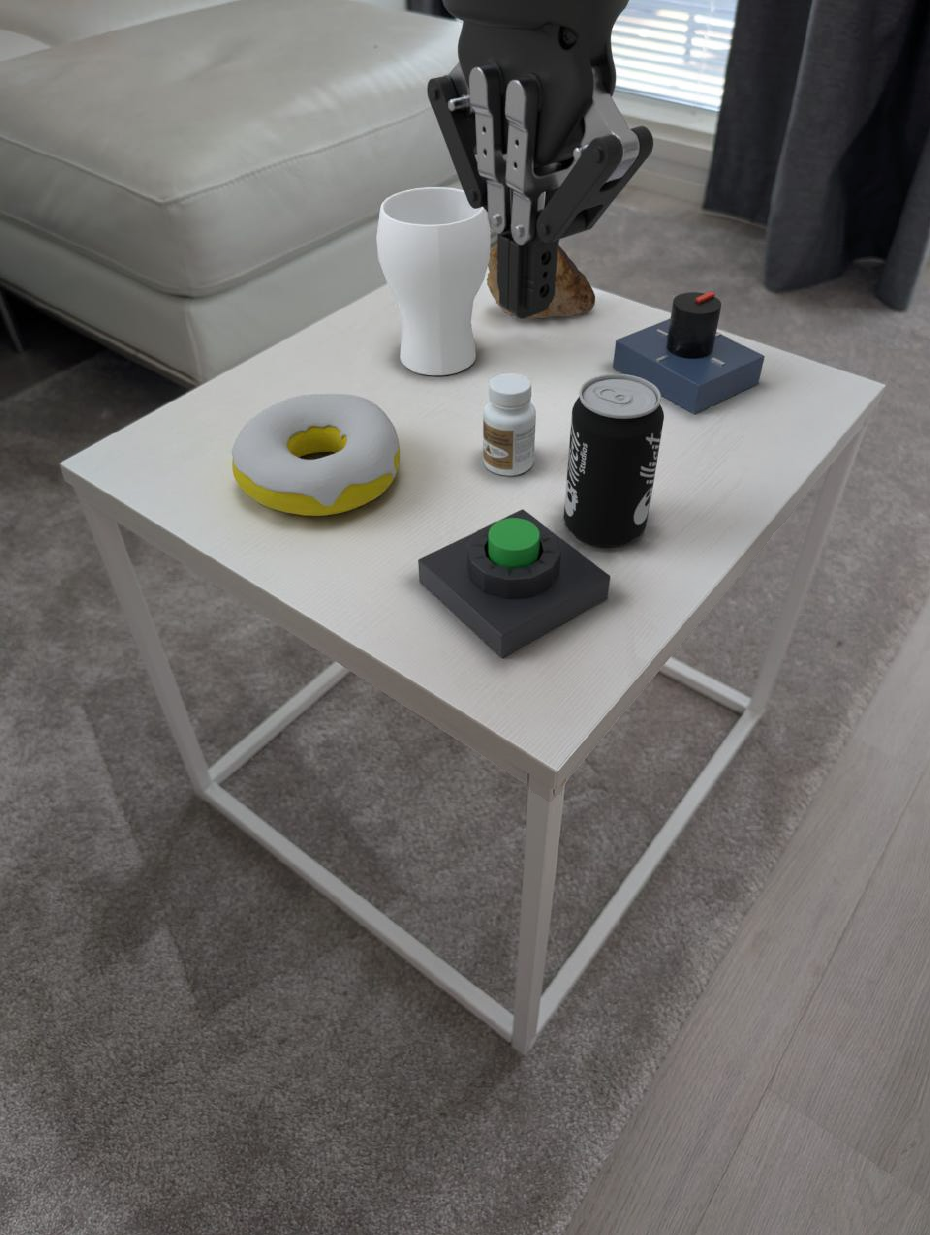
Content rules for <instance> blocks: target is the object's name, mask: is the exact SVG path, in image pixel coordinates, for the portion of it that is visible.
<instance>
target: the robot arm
mask: <svg viewBox="0 0 930 1235" xmlns="http://www.w3.org/2000/svg"><path fill="white" fill-rule="evenodd" d="M441 1H442V4H443V7H444V8H445V9H446V11H447V12H448V13H449V14H450V16H453V17H454V18H455V19H458V20H460V21H462V27H461V31H460V35H459V38H458V41H457V42H458V43H457V57H458V62H457V63H456V65H454V67H453V68H452V70H450V72H449V73H448V74H444V75H442V76H438V77H432V78H431V79H429V81H428V83H427V88H426V90H427V97H428V100H429V103H430V106H431V109H432V111H433V113H434V116H435V119H436V122H437V125H438V127H439V130H440V132H441V135H442V137H443V140H444V142H445V145H446V148H447V150H448V153H449V156H450V158H451V161H452V164H453V166H454V169H455V171H456V174H457V176H458V179H459V183H460V185H461V187H462V190H464V193H465V195H466V198H467V201H468V203H469V205H470V206H471V207H472V208H474V209H478V208H481V207H483V208H484V209H485V210H486V212H487V217H488V221H489V226H490V229H491V230H492V232H494V233H495V234H496V235H497V236H496V246H497V262H498V263H497V270H498V271H497V286H498V290H499V304H500V306H501V307H502V308H504V309H506V310H507V311H509V312H511V313H512V314H514V315H513V316H515V315H516V316H515V317H517V318H519V319H526V318H530V317H529V316H531V315H534V314H537V313H540V312H542V311H545V310H546V309H547V308H548V307H549V305H550V303H552V301H553V299H554V296H555V290H556V283H555V282H556V273H557V256H558V245H559V242H560V240H562V239H566V238H568V237H571V236H575V235H578V234H581V233H585V232H587V231H589V230H591V229H592V228H594V227H595V225H596V223H597V222H598V221H599V220H600V219H601V217H602V216H603V215H604V213H605V212H606V211H607V210H608V209H609V207H610V206H611V205H612V203H613V202H614V201H615V199H616V198H618V196H619V194H620V193H621V192H622V191H623V189H624V188H625V187H626V185H628V184H629V182H630V181H631V179H632V178H634V176H635V174H636V173H637V172H638V171H639V169H640V168H641V167H642V166H643V165H644V163H645V162H646V161H647V159H648V158H649V157H650V155H651V154H652V151H653V148H654V139H653V138H654V137H653V134H652V132H651V131H650V129H649V128H648V127H647V126H645V125H639V126H634V127H631V128H630V127H629V125H628V123H627V122H626V120H625V118H624V116H623V114H622V112H621V111H620V109H619V107H618V106H617V103H616V101H615V100H614V99H613V97H614V94H615V90H616V86H617V68H616V64H615V60H614V54H613V47H612V46H613V45H612V34H613V29H614V26H615V24H616V22H617V20H618V19H619V17H620V15H621V14H622V12H623V11H624V10H626V7H627V6H628V4H629V1H630V0H441Z"/></svg>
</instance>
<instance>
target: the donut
mask: <svg viewBox="0 0 930 1235" xmlns="http://www.w3.org/2000/svg"><path fill="white" fill-rule="evenodd" d="M316 453H332V454H329V455H326V456H323V457H320V458H316V459H304V458H301V457H303V456H306V455H311V454H316ZM231 455H232V461H231V466H232V473H233V477H234V479H235V481H236V483H237V485H238V486H239V488H240V489H241V490H242V491H243V492H244V493H245V494H246V495H247V496H248V497H250V498H251V499H253V500H255V501H256V502H257V503H259V504H261V505H263V506H264V507H266V508H269V509H272V510H276V511H280V512H282V513H286V514H293V515H299V516H309V517H310V516H311V517H320V516H321V517H323V516H324V517H325V516H331V515H333V516H334V515H337V514H342V513H345V512H349V511H352V510H354V509H357V508H359V507H361V506H364V505H366V504H368V503H370V502H371V501H373V500H376V499H377V498H378V497H379V496H381V495H382V494H383V493H384V492H385V491H386V490H388V488H389V487H390V486H391V484H392V483H393V482H394V480H395V477H396V476H397V473H398V471H399V466H400V462H401V446H400V439H399V436H398V433H397V430H396V427H395V425H394V424H393V422H392V421H391V419H390V418H389V416H388V415H387V413H386V412H385V411H384V410H383V409H382V407H380V406H379V405H378V404H376V403H374V402H373V401H371V400H370V399H367V398H364V397H362V396H357V395H351V394H340V393H315V394H314V393H313V394H305V395H299V396H294V397H290V398H287V399H285V400H282V401H280V402H277V403H274V404H273V405H271V406H269V407H267V408H265V409H263V410H261V411H259V412H258V413H257V414H255V415H254V416H253V417H252V418H250V419H249V420H248V421H247V422H246V423H245V425H243V427H242V429H241V430H240V431H239V433H238V435H237V437H236V438H235V441H234V443H233V446H232V448H231Z"/></svg>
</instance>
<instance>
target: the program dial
mask: <svg viewBox="0 0 930 1235" xmlns="http://www.w3.org/2000/svg"><path fill="white" fill-rule="evenodd" d="M721 309H722V301H721V300H720V299H719V298H718V297H716V293H714V292H712V291H708V292H707V293H704V292H698V291H692V292H691V291H689V292H683V293H680V294H677V295H676V296H675V297H674V298H673V300H672V305H671V312H670V318H669V319H670V325H669V331H668V338H667V344H666V346H667V349H668V350H669V351H670V352H671V353H673V354H675V355H677V356H680V357H685V358H701V357H705V356H707V355H709V354H710V353H711V352H712V351H713V346H714V341H715V336H716V332H718V331H717V330H718V325H719V319H720V315H721Z"/></svg>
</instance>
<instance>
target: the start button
mask: <svg viewBox="0 0 930 1235" xmlns="http://www.w3.org/2000/svg"><path fill="white" fill-rule="evenodd" d="M500 520H501V519H500ZM497 521H498V522H497ZM497 521H496V522H497V523H495V524H494V525H493V526H492V527H491V528H490V530H489V550H488V552H489V557H490V558H491V560H492V561H493V562H494V563H495V564H497V565H499V566H503V567H507V568H510V569H511V568H522V567H527V566H529V565H531V564H533V563H534V562H535V561H536V560H537V558H538V555H539V542H540V532H539V530H538V528H537V527H536V526H535V525H534V524H533V523H531V522H529V521H527V520H524V519H518V518H509V519H504V520H501V521H499V520H497Z"/></svg>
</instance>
